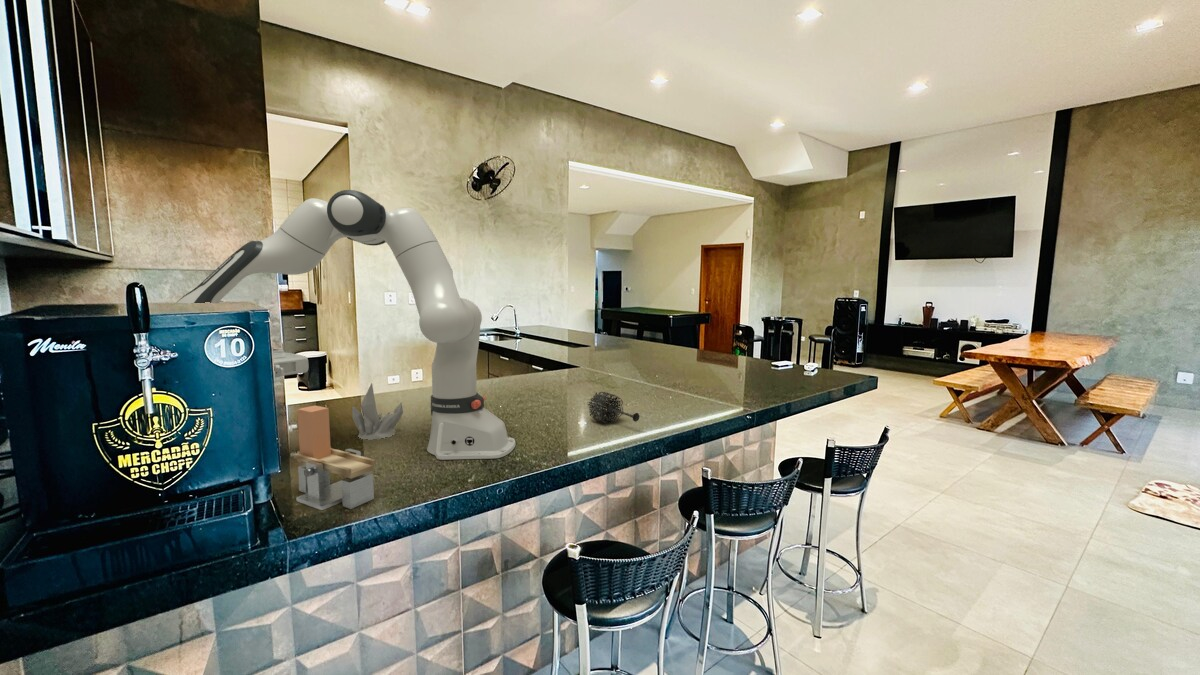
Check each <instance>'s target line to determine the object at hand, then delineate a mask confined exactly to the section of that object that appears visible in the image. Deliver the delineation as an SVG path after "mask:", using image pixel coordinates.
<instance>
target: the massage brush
mask: <svg viewBox="0 0 1200 675" xmlns="http://www.w3.org/2000/svg"><path fill="white" fill-rule="evenodd" d="M623 403H624V402H623V400H622V398H620V397H619V396H618V395H615V394H613V393H610V392H605V391H599V392H594V394H593V397H590V401H588V403H587V404H586V405H587V406H588V411H589V414H588V415H589V416H590V417H592V419H593V420H595V421H597V422H598V421H599V422H600V423H603V424H608V425H611V424H612V425H613V424H616V423H618V421H619V419H620V417H621V416H622V415H625V416H627V417H630V418H632V420H633V422H638V421H639V420H640V414H639V413H638V412H635V413H633V414H631V413H628V412H624V408H623Z"/></svg>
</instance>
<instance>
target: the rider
mask: <svg viewBox="0 0 1200 675" xmlns="http://www.w3.org/2000/svg"><path fill="white" fill-rule="evenodd" d="M329 411H330V410H329V407H326V406H325V407H324V406H320V405H312V406H311V405H309V406H306V407H301V408H297V424H298V442H299V443H298V444H299V445H298V446H299V454H302V455H305V456H308V457H312V458H315V459H321V458H324V457H327V456H330V455H331V448H332V446H331V432H330V430H331V429H330V412H329Z"/></svg>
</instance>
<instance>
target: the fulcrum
mask: <svg viewBox="0 0 1200 675" xmlns="http://www.w3.org/2000/svg"><path fill="white" fill-rule="evenodd" d="M344 452H350V453H352V454H355V455H359V456H363V453H362V452H361V451H360V450H357V449H353V448H346V449H345V450H344ZM363 457H364V456H363ZM297 471H298V472H297V473H298V490H299V492H301V493H303V494H301V495H299V496H297V497H296V500H295V501H296V502H298V503H300V504H303V505H305V506H307V507H311V508H314V509H316V510H319V511H323V510H327V509H328V508H331V507H333V506H336V505H338V504H341V503H342V507H344V508H346V509H350V510H353V509H354V508H357V507H359V506H362V505H364V504H367V503H368V502H370V501H373V500H375V491H374V490H375V488H374V486H375V485H374V473H372V472H367V473H365V474H362V475H359V476H357V477H354V478H348V477H345V478H344V479H341V480H339V481H336V482H333V483H331V476H330V473H331V472H328V471H325V470H323V464H321V463H318V462H315V461H308V462H306V465H305V464H302V465H299V466H297Z"/></svg>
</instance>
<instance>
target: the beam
mask: <svg viewBox="0 0 1200 675" xmlns="http://www.w3.org/2000/svg"><path fill="white" fill-rule="evenodd" d="M293 458H294V460H297V463H300V464H302V465H306V462H308V461H315V462H318V463H321V464H323V470H325V471H328V472H330V473H331V474H335V475H339V476H341V477H345V478H346V477H348V478H354V477H357V476H359V475H362V474H365V473H367V472H369V473H371V472H373V471H374V466H375V465H377V460H376V459H374V458H370V457H367V456H359V455H355V454H352V453H350V452H345V450H344V451H343V450H340V449H337V448H336V449H335V448H333V447H331V455H330V456H327V457H324V458H321V459H315V458H312V457H308V456H305V455H302V454H300V453H294V454H293Z"/></svg>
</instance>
